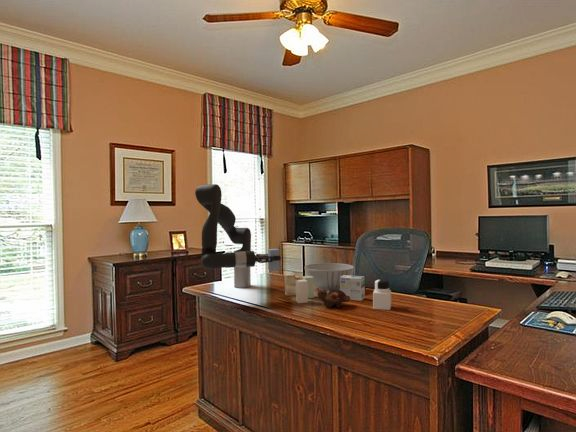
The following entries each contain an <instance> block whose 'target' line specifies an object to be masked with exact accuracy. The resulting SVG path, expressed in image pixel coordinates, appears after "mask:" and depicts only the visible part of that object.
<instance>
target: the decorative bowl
mask: <svg viewBox="0 0 576 432" xmlns="http://www.w3.org/2000/svg"><path fill="white" fill-rule="evenodd" d="M354 270H355V266H354V265H352V264H348V263H337V262H336V263H335V262H320V263H318V262H317V263H310V264H307V265H305V266H304V271H305V273H306V276H312V277H314V286H315V287H317V289H318V291H319V290H325V291H327V290H329V289H338V290H340V277H341V276H343V275H349V276H353V274H354Z"/></svg>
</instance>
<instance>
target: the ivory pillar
mask: <svg viewBox="0 0 576 432" xmlns="http://www.w3.org/2000/svg"><path fill="white" fill-rule="evenodd" d="M295 283H296V295H295V302H297V303H298V304H306V303H309V298H308V281H307V280H305V279H304V280H303V279H295Z"/></svg>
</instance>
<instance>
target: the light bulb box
mask: <svg viewBox="0 0 576 432" xmlns="http://www.w3.org/2000/svg"><path fill="white" fill-rule="evenodd" d="M365 289H366V287H365V276H362V275H352V276H349V275H343V276H341V277H340V290H341V291H343V292H344V293H345V294H346V295H347V296H350V301H357V302H358V301H359V302H361V301H363V300H364V299H365V298H366V292H365Z"/></svg>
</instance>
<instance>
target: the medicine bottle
mask: <svg viewBox="0 0 576 432" xmlns="http://www.w3.org/2000/svg"><path fill="white" fill-rule="evenodd" d="M372 308H373V309H374V310H380V311H381V310H382V311H383V310H384V311H390V310H391V308H392V290H391V289H390V281H389V280H386V279H377V280H375V281H374V290H373V292H372Z"/></svg>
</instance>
